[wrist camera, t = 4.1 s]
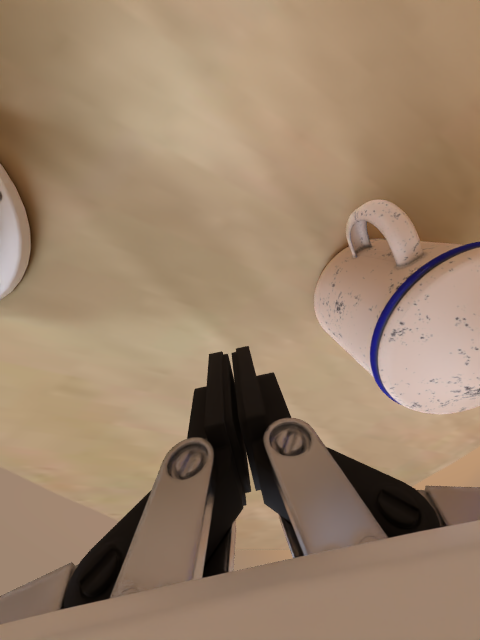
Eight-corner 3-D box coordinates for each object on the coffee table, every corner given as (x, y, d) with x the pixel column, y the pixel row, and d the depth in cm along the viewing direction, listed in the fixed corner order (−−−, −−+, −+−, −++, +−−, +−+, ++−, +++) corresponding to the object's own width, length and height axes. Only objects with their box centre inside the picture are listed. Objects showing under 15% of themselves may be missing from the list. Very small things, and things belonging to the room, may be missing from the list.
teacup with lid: (429, 306, 21) (658, 391, 10) (336, 360, 22) (453, 489, 11) (382, 170, 17) (686, 68, 6) (270, 246, 18) (356, 277, 7)
